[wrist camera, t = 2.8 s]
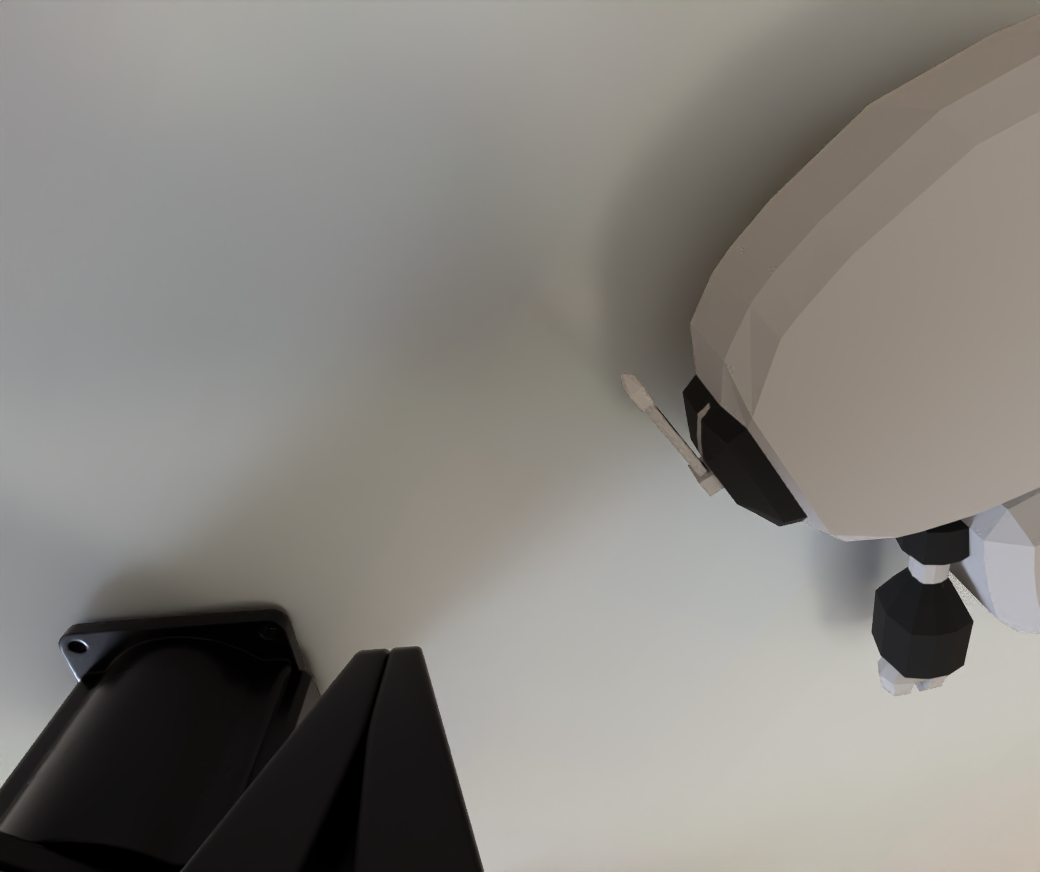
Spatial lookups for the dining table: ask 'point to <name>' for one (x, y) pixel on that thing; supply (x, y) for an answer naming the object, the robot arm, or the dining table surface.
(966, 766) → the dining table surface
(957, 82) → the robot toy
